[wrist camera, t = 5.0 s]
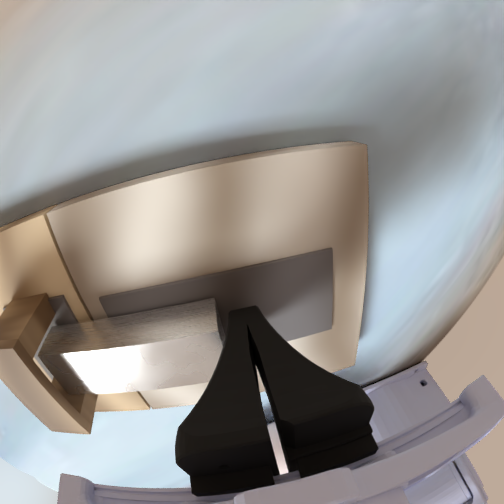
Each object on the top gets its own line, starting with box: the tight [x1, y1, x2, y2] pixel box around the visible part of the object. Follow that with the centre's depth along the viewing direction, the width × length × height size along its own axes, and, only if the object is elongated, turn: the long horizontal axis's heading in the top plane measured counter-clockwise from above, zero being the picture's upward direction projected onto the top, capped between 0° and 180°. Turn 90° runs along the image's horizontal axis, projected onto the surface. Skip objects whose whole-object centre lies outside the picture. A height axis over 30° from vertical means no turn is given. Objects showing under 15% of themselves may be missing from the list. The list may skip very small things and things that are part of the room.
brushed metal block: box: [37, 298, 225, 394], centre depth 12 cm, size 9×3×2 cm, turn 99°
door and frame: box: [0, 141, 369, 434], centre depth 12 cm, size 22×14×6 cm, turn 99°
